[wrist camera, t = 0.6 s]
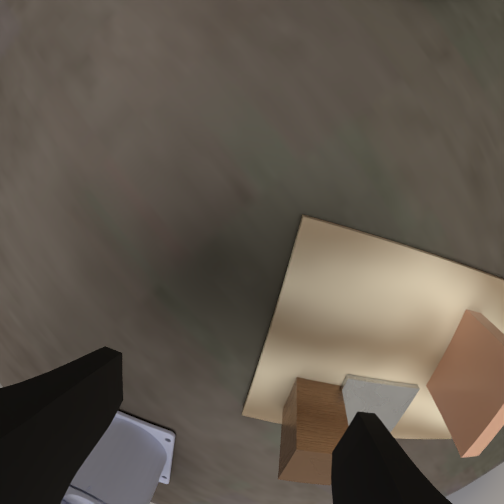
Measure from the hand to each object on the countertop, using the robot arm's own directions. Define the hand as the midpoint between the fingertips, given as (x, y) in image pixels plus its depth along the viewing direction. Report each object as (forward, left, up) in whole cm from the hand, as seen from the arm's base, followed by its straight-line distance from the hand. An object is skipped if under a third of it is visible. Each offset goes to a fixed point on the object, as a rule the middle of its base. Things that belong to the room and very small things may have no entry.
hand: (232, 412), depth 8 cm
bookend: (-6, -8, -9) cm, 14 cm away
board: (-2, -12, -10) cm, 16 cm away
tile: (-1, -14, -9) cm, 16 cm away
